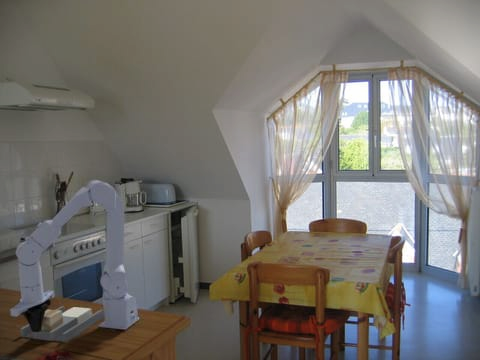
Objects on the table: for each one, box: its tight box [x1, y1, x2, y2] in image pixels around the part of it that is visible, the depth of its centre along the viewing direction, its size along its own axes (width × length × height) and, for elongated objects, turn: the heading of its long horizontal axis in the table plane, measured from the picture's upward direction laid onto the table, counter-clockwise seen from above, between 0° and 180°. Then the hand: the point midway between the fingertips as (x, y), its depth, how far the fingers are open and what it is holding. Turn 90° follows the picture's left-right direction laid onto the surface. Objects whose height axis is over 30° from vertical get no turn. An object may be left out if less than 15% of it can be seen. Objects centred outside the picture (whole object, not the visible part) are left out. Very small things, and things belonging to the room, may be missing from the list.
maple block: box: [41, 308, 63, 331], centre depth 138 cm, size 5×5×4 cm
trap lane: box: [19, 305, 105, 343], centre depth 144 cm, size 16×18×2 cm
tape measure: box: [43, 298, 52, 307], centre depth 162 cm, size 7×7×4 cm
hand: (36, 331), depth 133 cm, fingers closed
